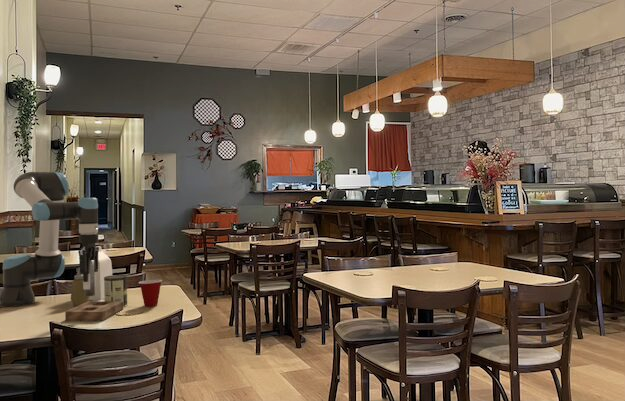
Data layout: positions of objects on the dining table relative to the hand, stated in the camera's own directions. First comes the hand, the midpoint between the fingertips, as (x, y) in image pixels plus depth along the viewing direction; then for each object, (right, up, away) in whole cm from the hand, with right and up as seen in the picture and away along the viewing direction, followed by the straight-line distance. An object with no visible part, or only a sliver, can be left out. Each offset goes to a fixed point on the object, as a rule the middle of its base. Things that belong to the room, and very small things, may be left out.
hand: (89, 288), depth 218 cm
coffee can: (+2, -13, +23) cm, 27 cm away
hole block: (0, -13, +5) cm, 14 cm away
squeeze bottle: (-16, -13, +25) cm, 32 cm away
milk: (-15, -13, +44) cm, 49 cm away
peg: (0, -3, 0) cm, 3 cm away
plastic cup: (+18, -13, +24) cm, 33 cm away
